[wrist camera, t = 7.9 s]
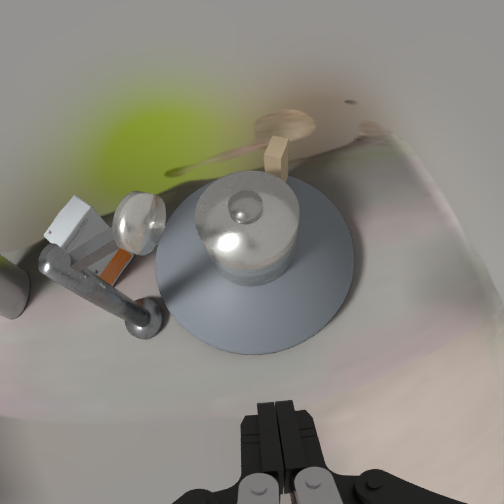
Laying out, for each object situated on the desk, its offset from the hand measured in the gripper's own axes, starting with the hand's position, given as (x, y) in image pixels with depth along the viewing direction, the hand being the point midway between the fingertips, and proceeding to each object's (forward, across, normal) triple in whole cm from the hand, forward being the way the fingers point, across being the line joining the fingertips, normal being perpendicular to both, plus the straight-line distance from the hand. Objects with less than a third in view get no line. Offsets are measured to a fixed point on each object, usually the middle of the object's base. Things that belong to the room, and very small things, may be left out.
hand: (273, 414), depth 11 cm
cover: (+24, 0, -1) cm, 24 cm away
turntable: (+25, 0, 0) cm, 25 cm away
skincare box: (+27, +19, +1) cm, 33 cm away
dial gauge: (+22, +11, +5) cm, 25 cm away
